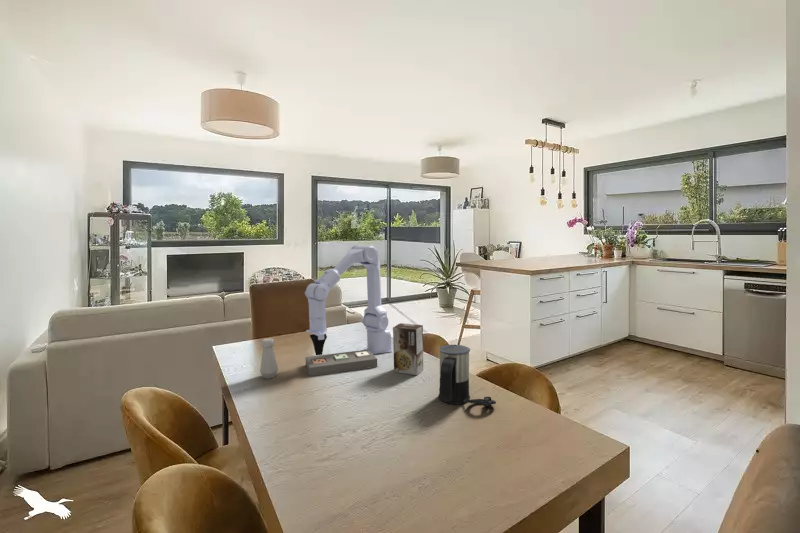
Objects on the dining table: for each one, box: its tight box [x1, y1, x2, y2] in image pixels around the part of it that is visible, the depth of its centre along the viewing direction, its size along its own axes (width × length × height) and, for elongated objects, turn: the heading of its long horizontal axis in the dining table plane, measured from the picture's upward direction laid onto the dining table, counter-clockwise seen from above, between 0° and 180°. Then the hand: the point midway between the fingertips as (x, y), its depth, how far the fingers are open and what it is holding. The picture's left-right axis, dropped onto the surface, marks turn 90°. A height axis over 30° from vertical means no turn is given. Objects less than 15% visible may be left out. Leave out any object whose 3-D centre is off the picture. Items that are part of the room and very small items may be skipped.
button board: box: [305, 349, 378, 377], centre depth 141 cm, size 24×12×3 cm, turn 110°
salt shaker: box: [259, 337, 279, 380], centre depth 131 cm, size 6×6×13 cm
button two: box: [334, 354, 348, 361], centre depth 141 cm, size 4×4×3 cm
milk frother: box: [438, 344, 497, 408], centre depth 110 cm, size 14×16×15 cm
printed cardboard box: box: [392, 322, 424, 376], centre depth 135 cm, size 9×6×16 cm
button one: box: [355, 351, 370, 358], centre depth 144 cm, size 4×4×3 cm
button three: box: [312, 358, 326, 364], centre depth 139 cm, size 4×4×3 cm
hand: (318, 354), depth 138 cm, fingers closed
